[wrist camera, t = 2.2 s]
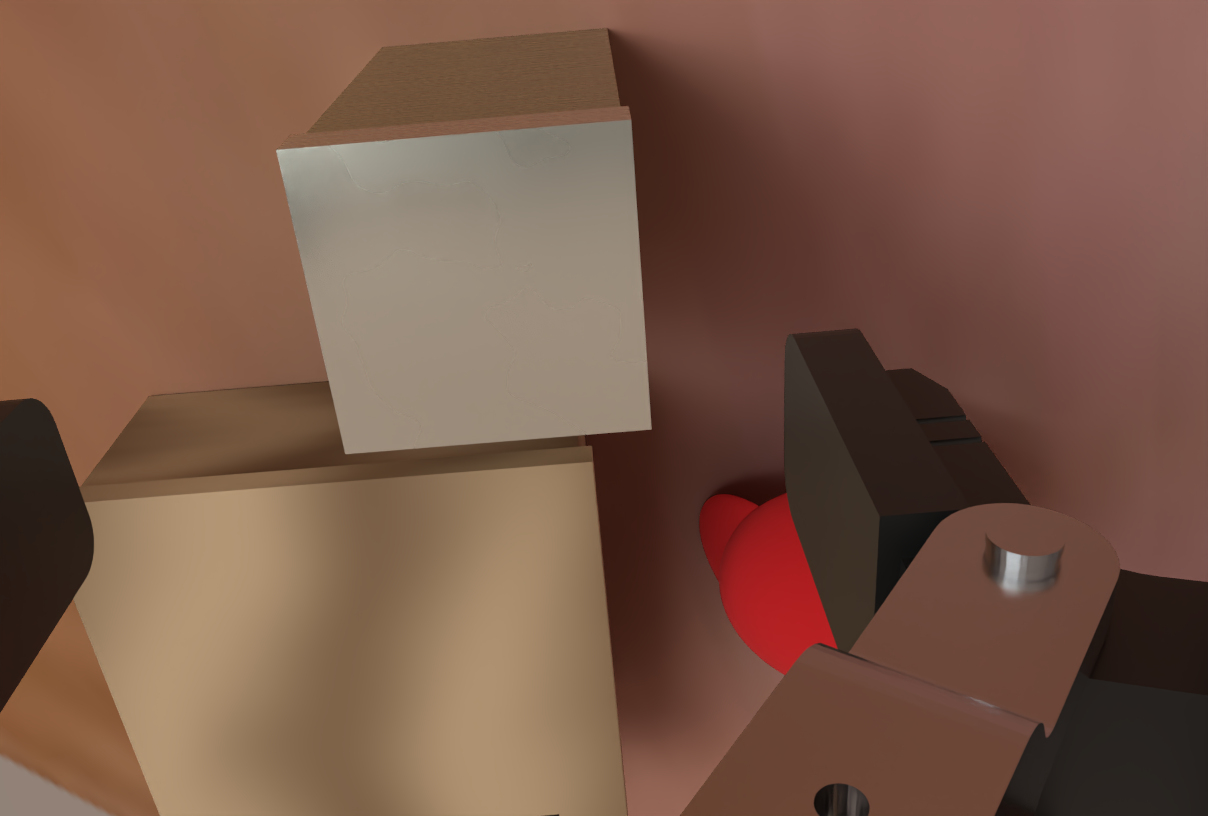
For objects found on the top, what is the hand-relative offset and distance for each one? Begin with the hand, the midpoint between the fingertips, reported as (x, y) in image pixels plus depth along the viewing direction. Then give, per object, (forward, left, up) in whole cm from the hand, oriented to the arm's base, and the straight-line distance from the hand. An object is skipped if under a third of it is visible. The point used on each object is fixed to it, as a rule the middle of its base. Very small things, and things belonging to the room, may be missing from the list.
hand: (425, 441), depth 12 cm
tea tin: (0, 0, -12) cm, 12 cm away
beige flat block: (+4, +10, -12) cm, 16 cm away
